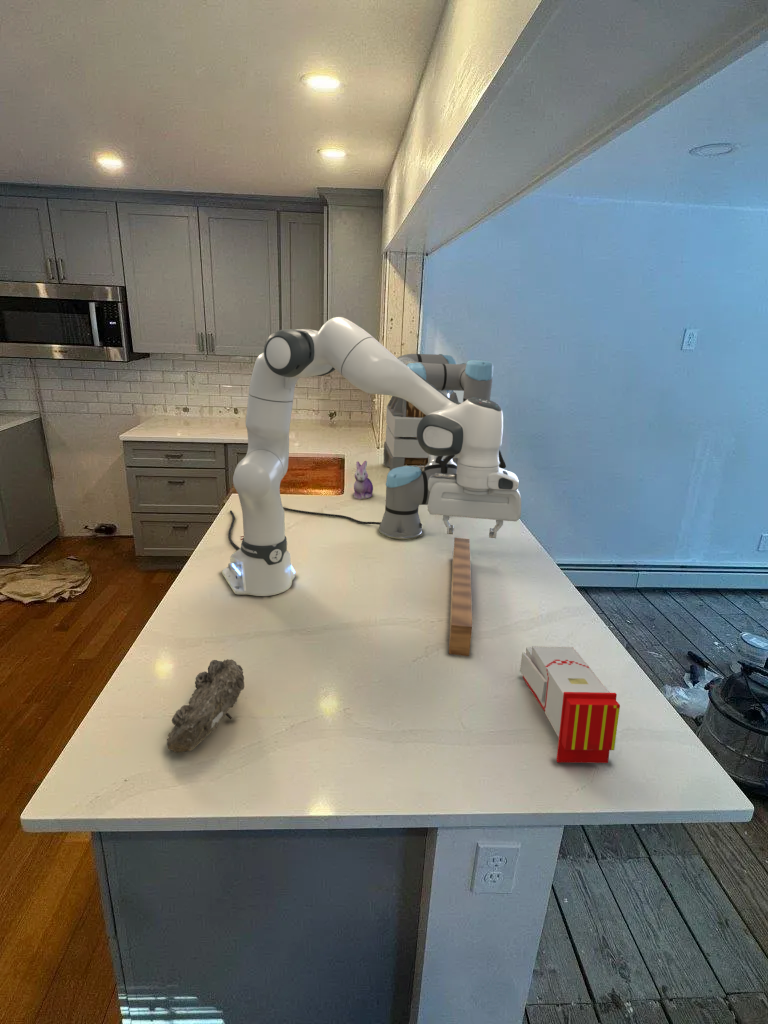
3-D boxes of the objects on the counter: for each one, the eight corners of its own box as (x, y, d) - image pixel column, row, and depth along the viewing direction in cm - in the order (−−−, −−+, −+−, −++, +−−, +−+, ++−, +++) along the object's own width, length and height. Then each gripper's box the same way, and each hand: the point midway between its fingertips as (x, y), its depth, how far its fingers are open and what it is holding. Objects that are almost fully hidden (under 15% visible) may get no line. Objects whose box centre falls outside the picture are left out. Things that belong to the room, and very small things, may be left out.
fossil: (192, 660, 117) (244, 628, 112) (224, 691, 120) (276, 661, 115) (142, 746, 98) (202, 712, 93) (182, 779, 101) (242, 748, 96)
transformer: (382, 463, 289) (386, 382, 275) (445, 464, 293) (451, 384, 279) (390, 482, 257) (394, 392, 243) (460, 483, 261) (468, 394, 247)
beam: (452, 560, 181) (454, 537, 178) (467, 561, 180) (469, 538, 178) (448, 654, 131) (451, 624, 129) (469, 656, 131) (472, 627, 128)
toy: (568, 628, 125) (630, 701, 96) (562, 684, 128) (620, 770, 99) (514, 627, 125) (559, 699, 96) (509, 683, 128) (551, 770, 98)
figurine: (357, 501, 231) (358, 465, 226) (347, 493, 240) (348, 459, 235) (378, 498, 235) (379, 463, 230) (367, 491, 244) (368, 457, 239)
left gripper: (427, 476, 120) (423, 536, 124) (526, 483, 117) (518, 544, 122) (429, 468, 125) (425, 526, 130) (523, 475, 123) (515, 534, 128)
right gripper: (430, 416, 158) (424, 488, 165) (521, 422, 155) (511, 495, 163) (431, 411, 165) (426, 481, 172) (518, 417, 162) (509, 488, 170)
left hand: (471, 535), depth 126 cm, fingers open, 8 cm apart
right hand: (467, 488), depth 167 cm, fingers open, 13 cm apart
